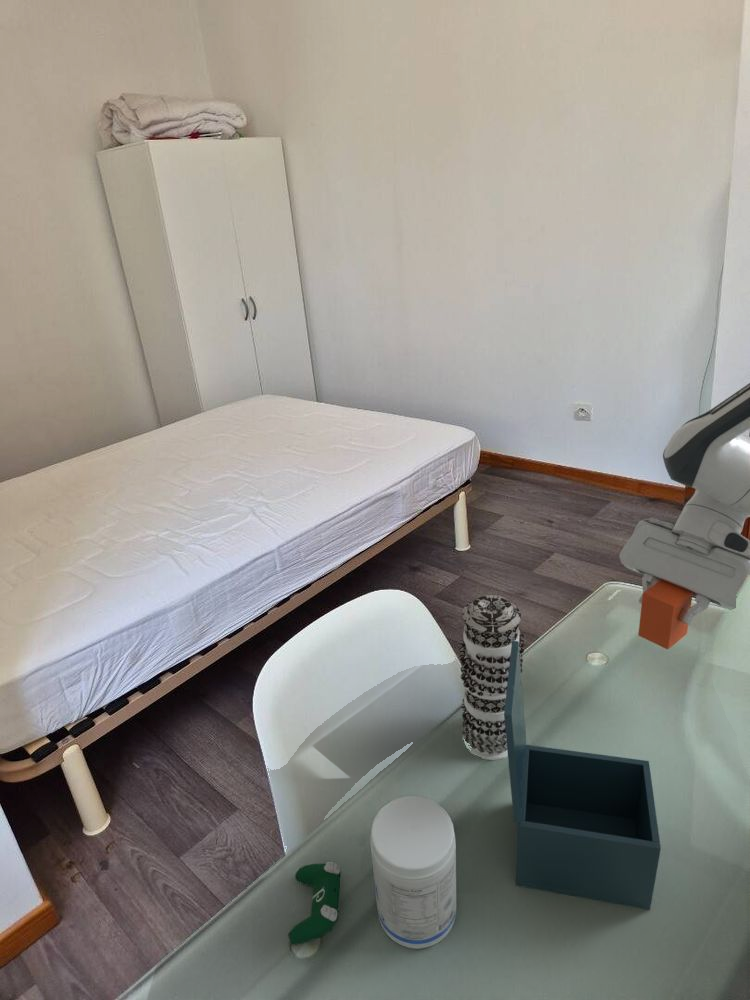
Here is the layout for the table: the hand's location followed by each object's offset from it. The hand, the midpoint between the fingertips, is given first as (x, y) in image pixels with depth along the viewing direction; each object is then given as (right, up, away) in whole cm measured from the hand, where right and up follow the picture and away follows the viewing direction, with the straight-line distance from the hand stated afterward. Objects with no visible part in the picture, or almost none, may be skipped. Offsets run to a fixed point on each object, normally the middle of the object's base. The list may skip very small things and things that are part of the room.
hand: (663, 613), depth 105 cm
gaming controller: (-51, -33, -22) cm, 65 cm away
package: (+1, -4, +2) cm, 4 cm away
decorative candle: (-26, -20, +1) cm, 33 cm away
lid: (-27, -10, -24) cm, 37 cm away
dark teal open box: (-18, -28, -17) cm, 37 cm away
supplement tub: (-39, -32, -23) cm, 56 cm away
